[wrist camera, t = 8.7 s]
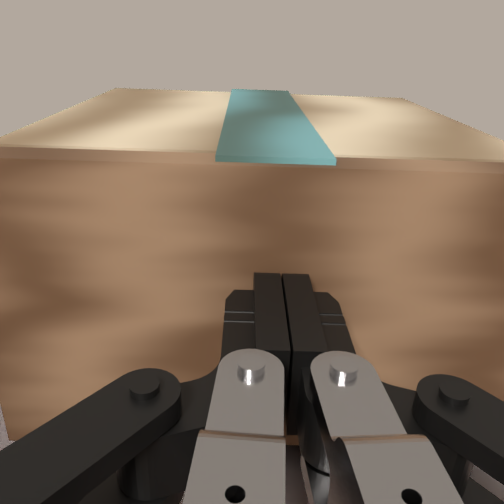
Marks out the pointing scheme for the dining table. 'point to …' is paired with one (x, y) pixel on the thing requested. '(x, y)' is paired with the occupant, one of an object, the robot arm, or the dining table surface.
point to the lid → (242, 236)
